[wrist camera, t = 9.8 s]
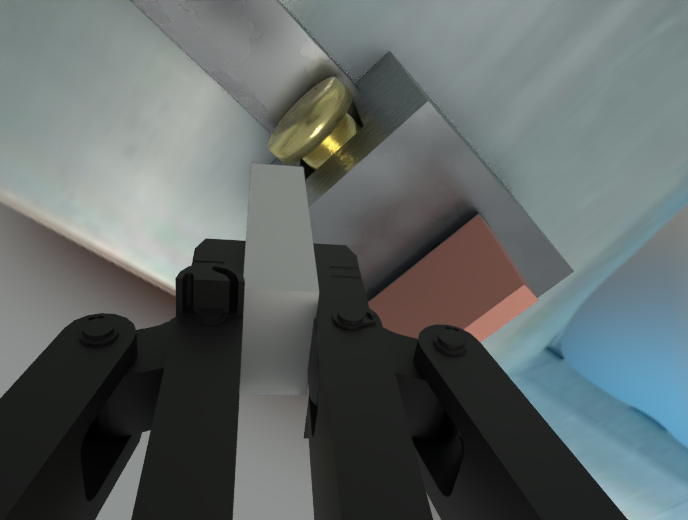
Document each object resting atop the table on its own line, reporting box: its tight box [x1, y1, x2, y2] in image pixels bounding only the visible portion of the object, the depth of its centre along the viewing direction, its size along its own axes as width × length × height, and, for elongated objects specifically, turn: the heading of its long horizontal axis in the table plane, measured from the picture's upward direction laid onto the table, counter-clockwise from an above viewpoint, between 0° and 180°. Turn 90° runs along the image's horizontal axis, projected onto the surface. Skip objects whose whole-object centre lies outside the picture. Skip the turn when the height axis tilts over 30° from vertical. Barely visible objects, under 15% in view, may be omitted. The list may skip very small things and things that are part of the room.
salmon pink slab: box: [368, 213, 538, 342], centre depth 26 cm, size 1×7×6 cm, turn 132°
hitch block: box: [131, 0, 574, 302], centre depth 29 cm, size 28×10×9 cm, turn 43°
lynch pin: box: [268, 77, 361, 171], centre depth 33 cm, size 15×5×5 cm, turn 43°
